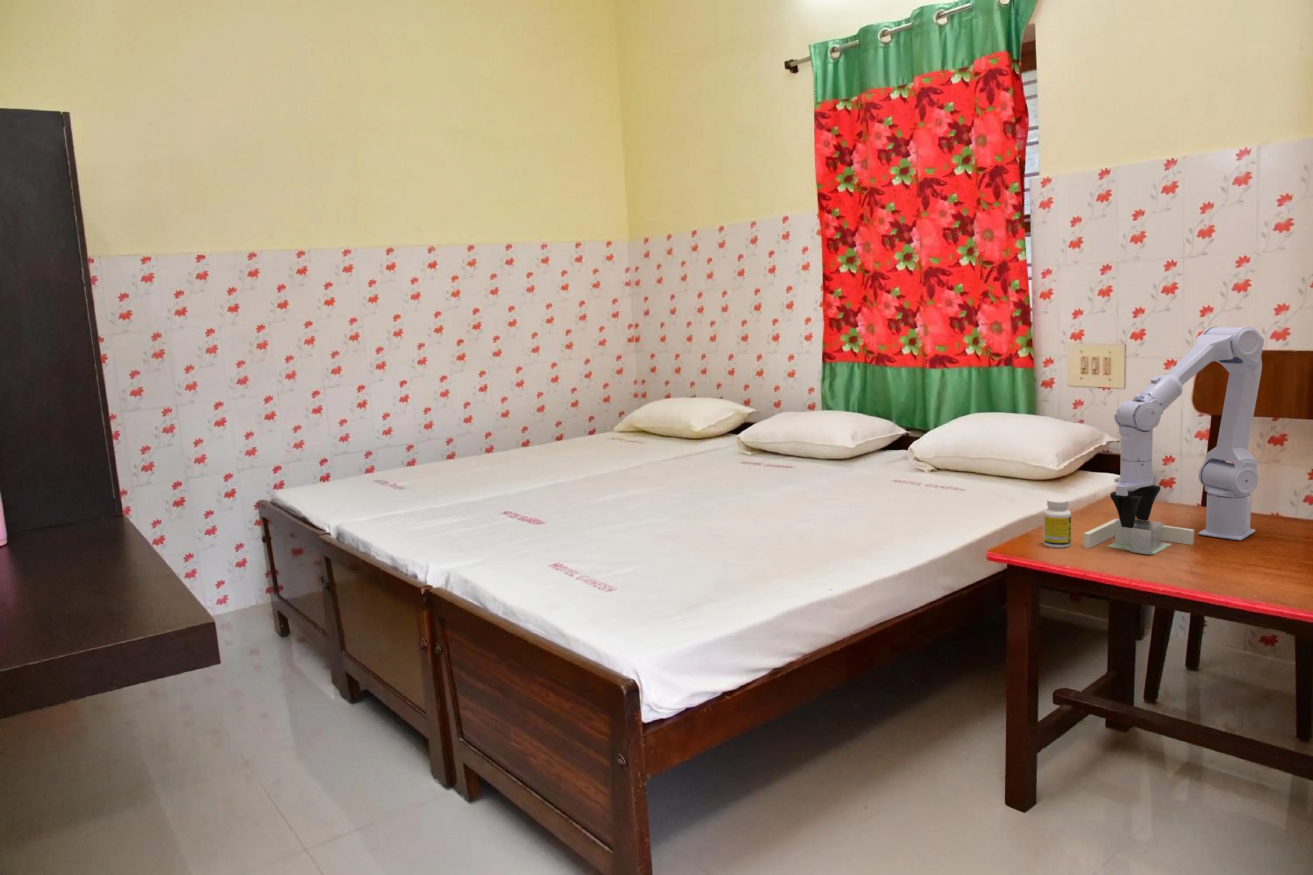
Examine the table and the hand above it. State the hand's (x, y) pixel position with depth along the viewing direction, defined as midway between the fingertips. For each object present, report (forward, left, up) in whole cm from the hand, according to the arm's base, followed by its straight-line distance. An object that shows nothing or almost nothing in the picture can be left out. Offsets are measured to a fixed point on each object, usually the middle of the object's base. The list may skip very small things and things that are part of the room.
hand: (1135, 523), depth 182 cm
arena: (0, +1, -5) cm, 5 cm away
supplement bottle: (+9, -12, -5) cm, 16 cm away
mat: (0, +1, -5) cm, 5 cm away
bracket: (+2, +1, -5) cm, 5 cm away
